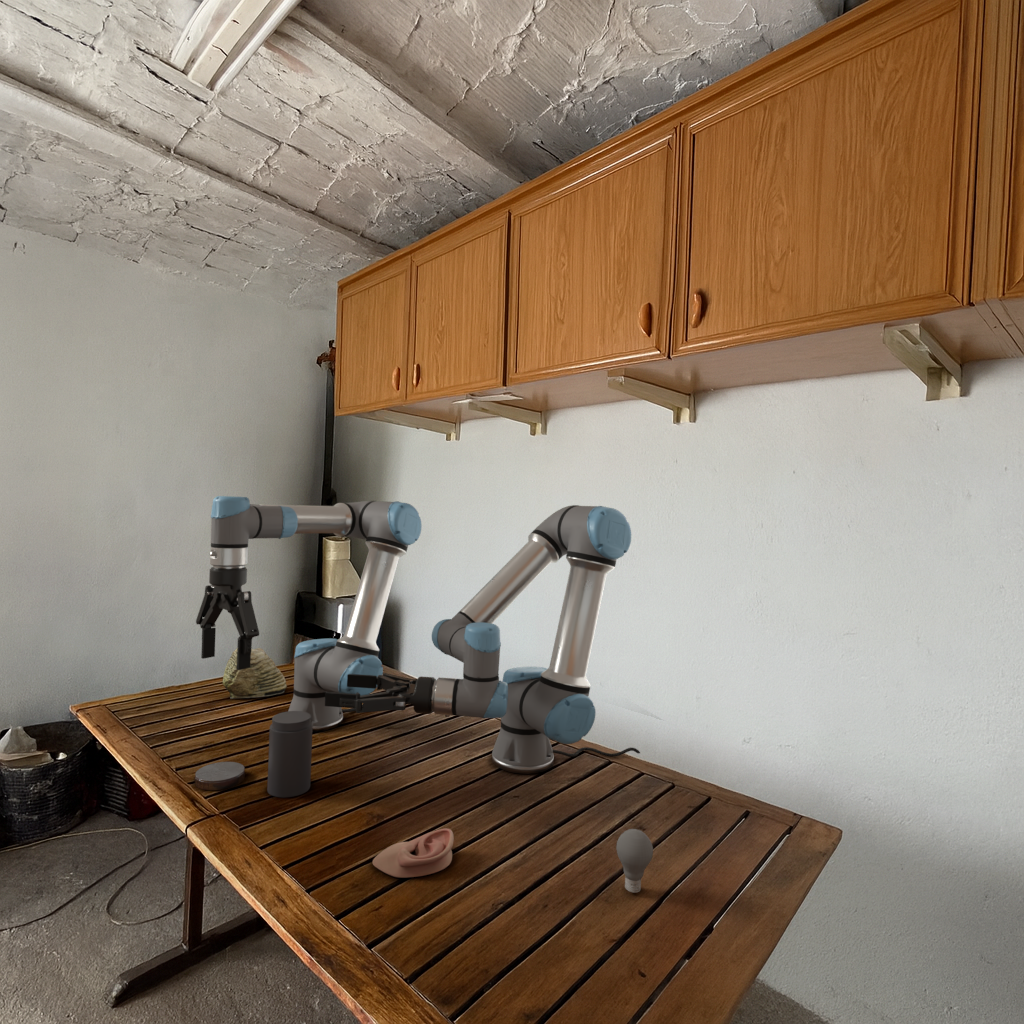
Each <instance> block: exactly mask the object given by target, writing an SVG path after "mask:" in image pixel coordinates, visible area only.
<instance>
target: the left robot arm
mask: <svg viewBox="0 0 1024 1024" xmlns="http://www.w3.org/2000/svg"><path fill="white" fill-rule="evenodd" d="M250 501H251V500H250V499H249V497H248V496H234V495H233V496H229V495H217V496H215V497H214V498H213V500H212V505H211V512H210V513H211V514H210V552H209V556H210V557H209V565H211V567H210V568H209V577H208V578H209V579H208V583H209V584H210V585H205V586H204V587H205V588H204V595H203V598H202V601H201V605H200V607H199V611H198V613H197V616H196V620H195V624H196V625H199V627H200V629H201V654H200V657H201V659H202V660H204V659H209V658H214V657H216V632H217V631H216V629H217V628H216V622H217V620H218V619H219V617H220V616H221V614H222V612H223V610H225V611H227V613H228V614H230V615H231V617H232V618H231V619H232V620H233V622H234V624H235V627H236V630H237V632H238V633H237V634H238V635H239V636H238V638H237V645H236V646H237V647H236V649H237V670H241V669H246V668H250V660H251V649H253V647H252V645H253V638H256V637H259V636H260V630H259V625H258V622H257V619H256V618H257V617H256V614H255V610H254V609H255V608H254V606H253V602H252V592H251V591H250V590H246V591H243V589H242V587H243V586H244V585H246V584H247V580H248V569H247V567H245V566H246V565H248V563H249V540H254V539H279V540H281V539H285V538H286V539H287V538H290V537H292V536H294V535H296V534H299V535H300V534H303V535H304V534H333V535H335V537H345V538H346V537H348V538H354V539H360V540H364V541H365V545H366V547H367V548H368V551H367V552H368V553H367V556H366V560H365V563H364V566H363V570H362V573H361V577H360V580H359V584H358V587H357V590H356V594H355V597H354V601H353V605H352V607H351V611H350V615H349V619H348V622H347V625H346V628H345V632H344V635H342V636H341V637H340V638H338V639H337V638H331V637H329V638H317V639H316V638H315V639H308V640H304V641H300V642H299V643H298V644H297V645H296V646H295V650H294V651H295V652H294V655H293V658H294V670H293V671H294V672H293V695H292V696H293V697H292V699H291V702H290V704H289V708H288V711H303V712H307V713H309V714H310V715H311V722H312V723H313V729H312V733H316V732H325V731H329V730H332V729H335V728H337V727H339V726H340V725H342V723H343V722H344V714H343V713H350V712H356V709H355V708H342V707H330V706H325V693H326V692H336V693H351V694H356V693H357V692H358V693H359V694H360V696H361V695H368V694H373V692H374V691H375V690H377V685H376V688H375V689H374V688H359V687H347V675H348V674H358V675H373V676H377V677H378V675H383V673H384V666H382V665H383V663H382V661H381V659H379V654H380V648H379V646H378V645H377V640H378V636H379V633H380V628H381V626H382V621H383V618H384V614H385V610H386V607H387V605H388V600H389V597H390V592H391V589H392V585H393V582H394V578H395V575H396V571H397V567H398V563H399V560H400V558H401V557H403V556H405V555H406V554H407V551H408V548H409V546H411V545H413V544H415V543H416V542H417V541H418V540H419V538H420V536H421V532H422V526H423V525H422V519H421V516H420V515H419V511H418V509H416V507H415V506H413V505H412V504H410V503H408V502H401V501H398V500H396V501H385V500H362V501H354V502H353V501H352V502H337V503H335V504H333V505H303V504H301V505H300V504H262V503H260V504H259V503H257V504H256V503H251V502H250Z"/></svg>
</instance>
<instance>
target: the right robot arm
mask: <svg viewBox="0 0 1024 1024" xmlns="http://www.w3.org/2000/svg"><path fill="white" fill-rule="evenodd" d="M527 540H528V541H527V542H526V543H525V544H524V545H523V546H522V547H521V548H520V550H518V551H517V552H516V553H515V554H514V555H513V556H512V557H511V558H510V560H508V561H507V562H506V564H505V565H504V566H502V567H501V568H500V570H498V571H497V573H496V574H495V575H494V576H493V577H492V578H491V579H490V580H489V581H488V582H487V583H486V584H485V585H484V586H483V587H482V588H481V589H480V590H479V591H478V592H477V593H476V594H475V595H474V596H473V597H472V598H471V599H470V600H469V601H468V602H467V603H466V604H465V605H464V606H463V607H462V608H461V609H460V610H459V611H458V612H457V613H456V614H455V615H454V616H453V617H452V618H445V619H441V620H440V621H438V622H437V623H436V624H435V625H434V626H433V628H432V631H431V641H432V644H433V646H434V647H435V648H436V649H438V650H439V651H440V652H441V653H442V654H444V655H446V656H450V657H451V658H454V659H455V660H458V661H459V662H461V663H463V667H462V669H463V670H462V677H463V678H453V677H438V678H435V676H419V677H418V678H410V677H404V676H400V675H397V674H393V673H388V672H383V674H382V675H378V677H377V676H373V675H358V674H348V675H347V687H359V688H374V689H375V688H376V685H377V688H376V689H375V690H377V691H380V690H383V691H382V692H381V691H380V692H376V693H370V694H368V695H361V696H360V694H359V693H358V692H357V693H356V694H351V693H336V692H326V693H325V706H330V707H341V708H344V709H353V708H355V709H356V711H355V714H362V713H363V714H364V713H375V712H376V713H377V712H385V711H405V710H406V706H407V705H412V706H413V711H414V712H415V713H416V714H422V715H423V714H424V715H431V714H433V713H434V714H435V715H441V716H442V715H444V716H445V717H446V718H449V717H450V716H457V717H458V716H459V717H468V718H469V717H470V718H479V719H480V718H482V719H500V729H499V732H498V735H497V737H496V740H495V743H494V745H493V748H492V751H491V753H492V754H491V762H492V764H493V765H494V766H495V767H497V768H498V769H500V770H503V771H505V772H509V773H513V774H522V775H529V774H533V775H534V774H539V773H542V772H546V771H548V770H550V769H551V768H552V767H553V766H554V762H555V761H554V759H555V755H554V754H558V755H562V756H565V757H568V758H575V757H577V756H578V755H579V754H580V753H582V752H585V751H587V752H588V751H589V752H593V753H595V754H599V755H601V756H605V757H609V758H614V757H615V758H616V757H620V756H622V755H624V754H626V753H629V752H635V753H636V754H641V751H640V750H639V749H638V748H636V747H628V748H625V749H623V750H621V751H619V752H614V753H612V752H611V753H610V752H604V751H602V750H600V749H597V748H593V747H589V746H587V747H580V748H578V749H577V751H576V752H574V753H568V752H565V751H562V750H557V749H553V748H552V744H551V741H554V742H557V743H559V744H563V745H571V744H575V743H577V742H579V741H581V740H582V738H584V737H586V736H587V735H588V734H589V732H590V731H591V729H592V727H593V725H594V723H595V720H596V707H595V705H594V702H593V700H592V699H591V698H590V697H589V695H590V690H591V683H590V681H589V680H588V677H587V673H588V667H589V663H590V658H591V652H592V648H593V643H594V638H595V633H596V628H597V623H598V618H599V613H600V609H601V605H602V604H601V603H602V600H603V594H604V589H605V585H606V580H607V576H608V574H609V573H611V572H612V571H613V570H615V569H616V565H617V560H619V559H621V558H622V557H624V555H625V554H626V553H627V552H629V549H630V546H631V544H632V528H631V525H630V522H629V521H628V520H627V517H626V516H625V515H624V513H623V512H621V511H620V510H618V509H616V508H613V507H609V506H603V505H580V504H577V505H576V504H571V505H568V506H563V507H562V508H560V509H558V510H556V511H555V512H553V513H552V514H551V515H549V516H548V517H546V519H544V520H543V521H542V522H541V523H539V525H538V526H536V527H535V528H534V529H533V530H532V531H531V532H530V533H529V535H528V537H527ZM564 556H565V559H566V561H567V563H568V564H569V567H570V568H569V571H568V572H569V573H568V577H567V583H566V587H565V591H564V597H563V601H562V605H561V610H560V615H559V619H558V625H557V630H556V633H555V638H554V642H553V647H552V653H551V657H550V662H549V665H548V666H549V667H548V668H547V667H543V666H516V667H511V668H508V669H507V670H505V671H504V673H503V676H502V680H500V677H499V676H500V674H499V670H500V659H501V658H500V655H501V646H502V643H501V629H500V627H499V626H498V625H497V624H494V622H496V621H497V619H498V618H499V617H500V616H501V615H502V614H503V613H504V612H505V611H506V610H507V609H508V608H509V607H510V606H511V604H513V602H515V600H516V599H517V598H519V596H521V594H522V593H523V592H524V591H525V590H526V589H527V588H528V587H529V586H530V585H531V584H532V583H533V582H534V581H535V580H536V579H537V577H538V576H539V575H540V574H541V573H542V572H543V571H544V570H545V569H546V568H547V567H548V566H549V565H550V564H556V563H558V562H559V560H560V559H561V558H562V557H564Z"/></svg>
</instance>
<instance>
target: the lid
mask: <svg viewBox="0 0 1024 1024" xmlns="http://www.w3.org/2000/svg"><path fill="white" fill-rule="evenodd" d="M245 769H246V768H245V766H244V764H242V763H239V762H236V761H218V762H214V763H209V764H206V765H204V766H202V767H200V768H199V769H197V770H196V772H195V774H194V786H195V787H196V788H198V789H199V790H204V791H221V790H226V789H230V788H234V787H235V786H237V785H239V784H241V783H242V782H243V781H244V779H245V775H246V774H245V773H246V771H245Z"/></svg>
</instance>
